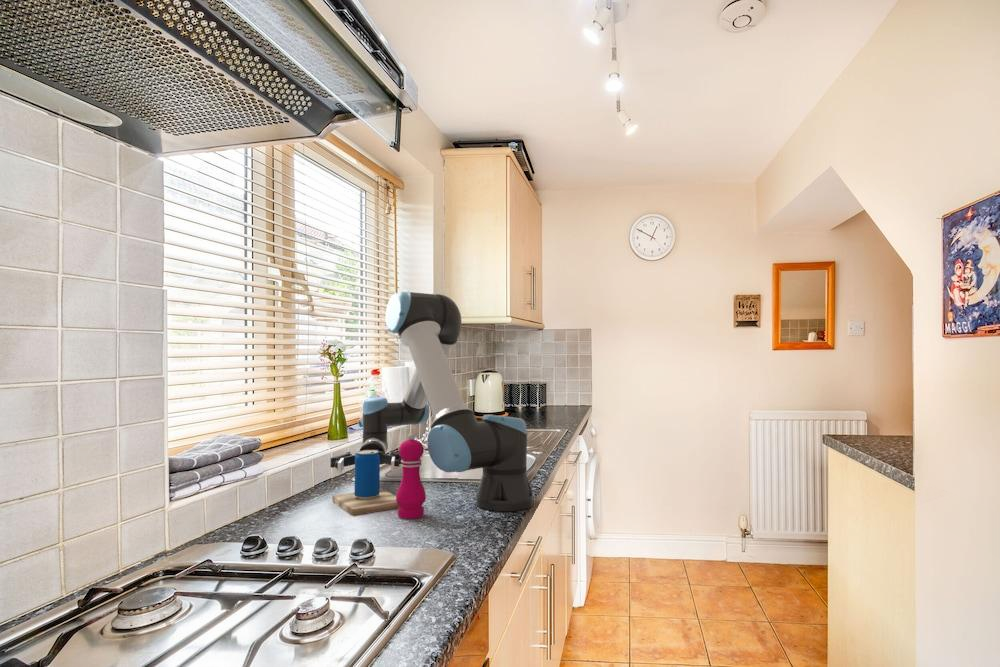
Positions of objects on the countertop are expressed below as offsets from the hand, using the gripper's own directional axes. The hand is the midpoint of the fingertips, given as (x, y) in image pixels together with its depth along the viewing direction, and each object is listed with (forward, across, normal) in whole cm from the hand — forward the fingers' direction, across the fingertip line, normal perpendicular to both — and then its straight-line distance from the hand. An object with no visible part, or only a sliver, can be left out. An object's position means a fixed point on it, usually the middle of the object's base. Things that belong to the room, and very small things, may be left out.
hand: (366, 467), depth 145 cm
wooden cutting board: (-2, 0, -10) cm, 10 cm away
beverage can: (-3, 0, -9) cm, 9 cm away
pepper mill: (+10, -12, -10) cm, 19 cm away
